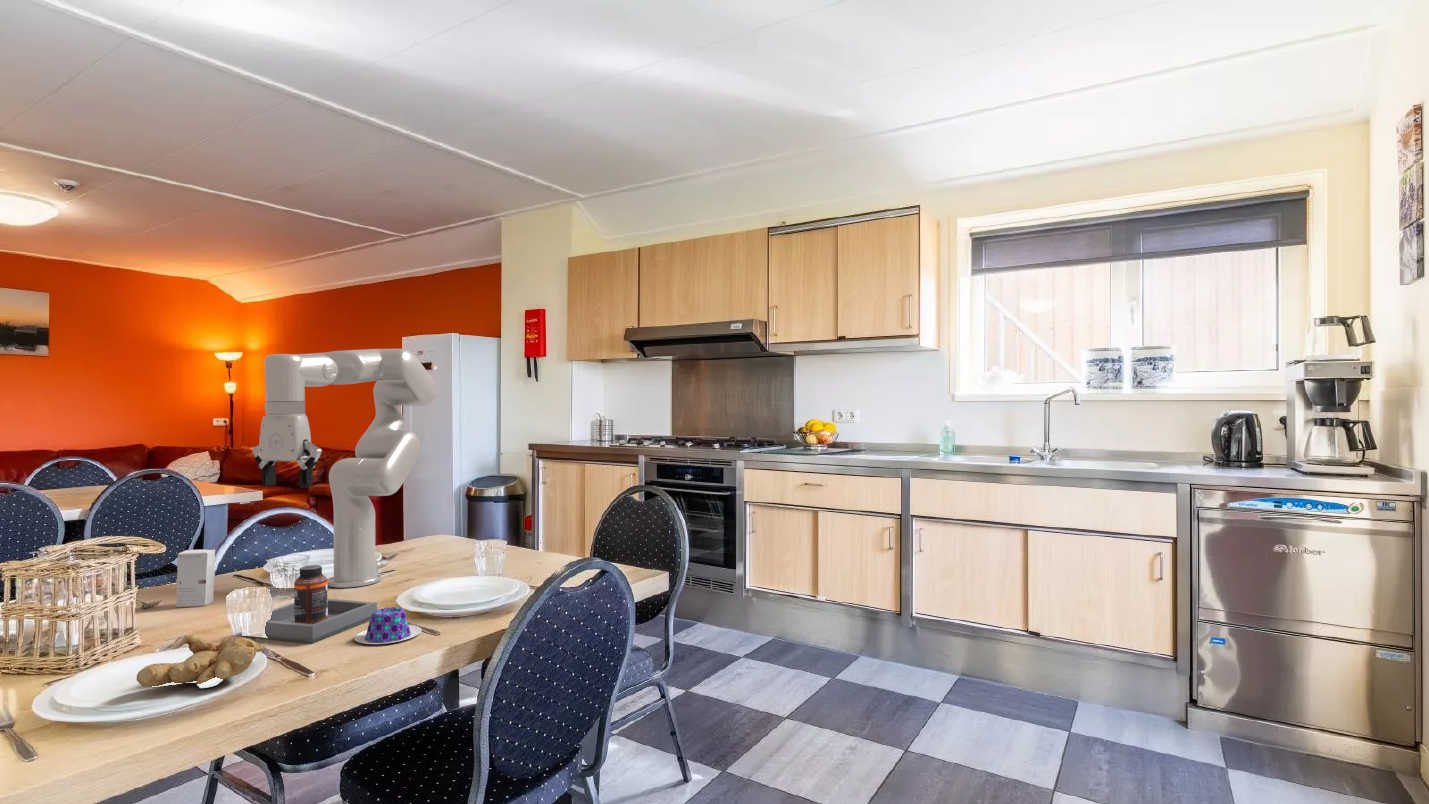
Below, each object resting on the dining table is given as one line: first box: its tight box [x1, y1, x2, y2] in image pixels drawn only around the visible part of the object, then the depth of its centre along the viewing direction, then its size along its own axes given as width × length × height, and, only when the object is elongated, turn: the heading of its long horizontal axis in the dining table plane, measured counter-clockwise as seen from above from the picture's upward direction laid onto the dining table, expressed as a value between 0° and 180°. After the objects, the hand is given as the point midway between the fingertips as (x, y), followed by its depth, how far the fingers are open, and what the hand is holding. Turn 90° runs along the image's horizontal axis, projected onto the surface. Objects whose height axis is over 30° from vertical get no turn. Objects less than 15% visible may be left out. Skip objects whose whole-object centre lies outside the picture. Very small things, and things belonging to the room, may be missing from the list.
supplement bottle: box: [293, 564, 329, 624], centre depth 146 cm, size 6×6×11 cm
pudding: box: [353, 606, 423, 645], centre depth 140 cm, size 12×12×5 cm
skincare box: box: [175, 549, 216, 608], centre depth 162 cm, size 6×4×12 cm
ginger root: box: [135, 635, 266, 688], centre depth 118 cm, size 16×16×8 cm
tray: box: [265, 598, 378, 644], centre depth 146 cm, size 17×17×3 cm
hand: (287, 486), depth 160 cm, fingers open, 9 cm apart
